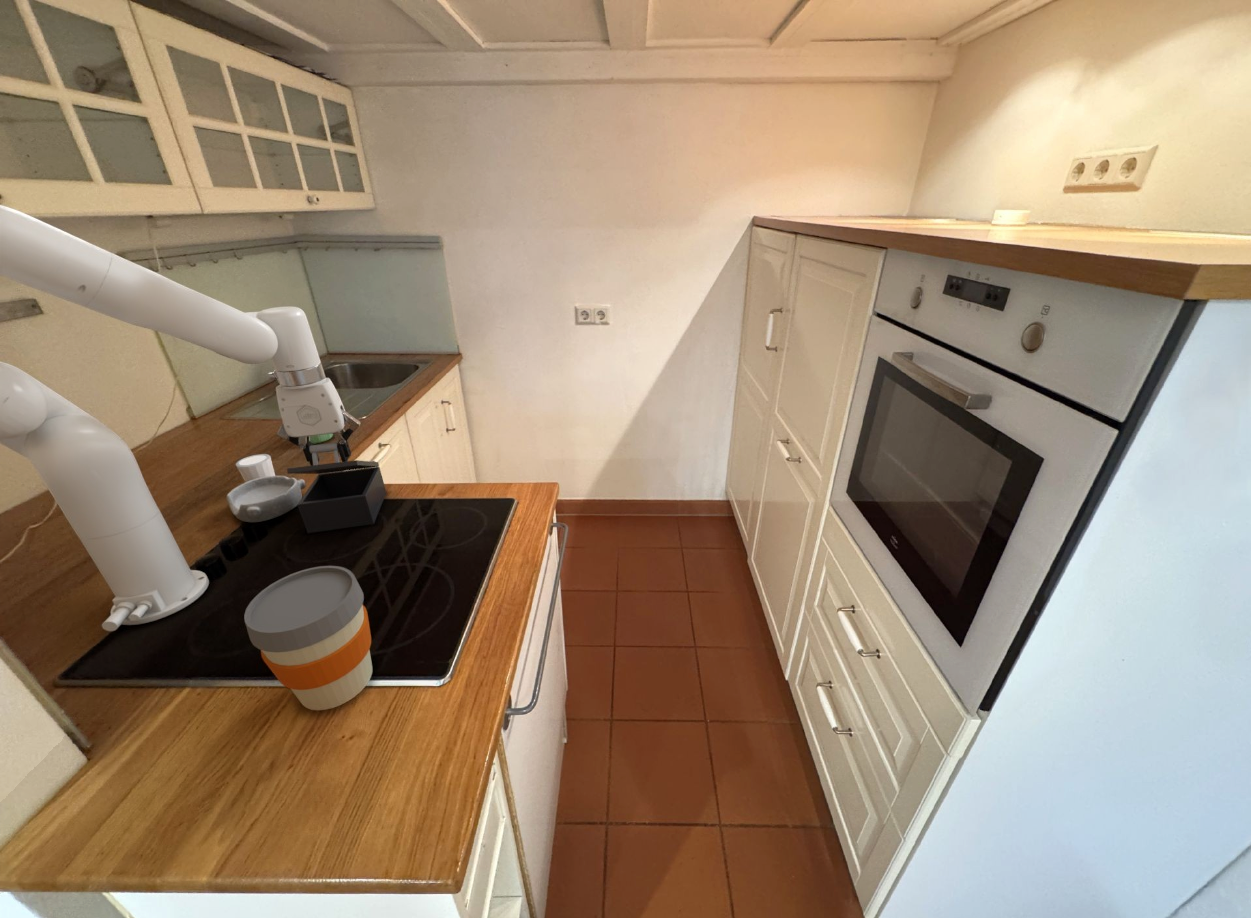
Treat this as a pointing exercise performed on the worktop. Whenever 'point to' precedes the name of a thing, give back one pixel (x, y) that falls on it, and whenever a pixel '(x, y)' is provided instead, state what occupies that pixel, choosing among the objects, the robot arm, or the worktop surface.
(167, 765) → the worktop surface
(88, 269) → the robot arm
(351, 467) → the lid
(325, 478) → the dark grey storage bin
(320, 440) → the ramekin
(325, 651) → the reusable coffee cup
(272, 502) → the dish
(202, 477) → the worktop surface
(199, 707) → the worktop surface
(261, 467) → the white fluted cup
